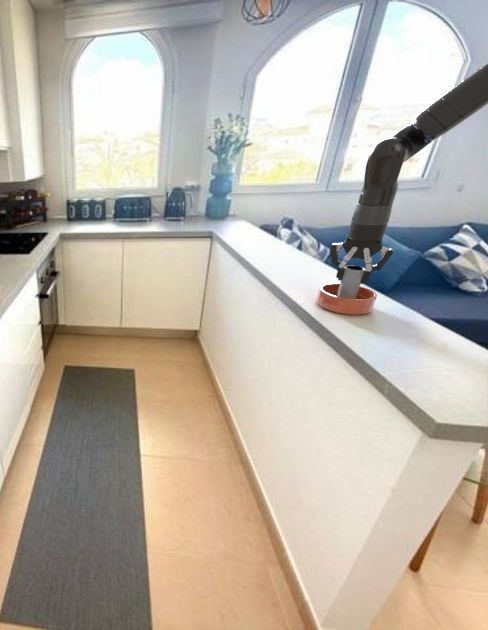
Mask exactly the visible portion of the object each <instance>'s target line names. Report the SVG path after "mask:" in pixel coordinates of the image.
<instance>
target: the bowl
mask: <svg viewBox="0 0 488 630" xmlns="http://www.w3.org/2000/svg"><path fill="white" fill-rule="evenodd" d="M339 286H340V282H330V283H329V282H328V283H324V284H322V285H320V287H319V288H318V289H319V290H318V293H317V296H316V301H315V302H316V304H317V305H319V306H320V307H321V308H324V310H327V311H329V312H333V313H337V314H341V315H347V316H348V315H349V316H351V315H352V316H357V315H358V316H359V315H366V314H369V313H371V312H372V311H373V308H374V305H375V303H376V300H377V297H378V294H377V293H376V292H375V291H374V290H372V289H370V288H368V287H365V286H361V285H360V287H359V290H358V294H357V297H356V299H348V298H342V297H338V296H337V293H338V289H339Z"/></svg>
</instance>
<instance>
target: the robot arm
mask: <svg viewBox="0 0 488 630" xmlns="http://www.w3.org/2000/svg"><path fill="white" fill-rule="evenodd" d="M487 105H488V63H486V64H484V65H483V66H482V67H481V68H479V69H478V70H476V71H475V72H473V73H472V74H471V75H470V76H468V77H466V78H465V79H464V80H462V81H461V82H459V83H458V84H457V85H455V86H454V87H453V88H451V89H450V90H449V91H447V92H446V93H445V94H443V95H442V96H441V97H439V98H438V99H437V100H435V101H434V102H433V103H431V104H430V105H429V106H427V107H426V108H425V109H423V110H422V111H421V112H419V114H417V115H416V117H414V119H413V120H412V121H410V123H408V124H407V125H406V126H404V127H403V128H402V129H400V130H399V131H398V132H397V133H395V134H393V135H392V136H391V137H389V138H385V139H383V140H381V141H379V142H378V143H376V144H375V145H374V146H373V148H372V149H371V150H370V152H369V154H368V157H367V160H366V164H365V170H364V171H365V173H364V178H363V186H362V188H361V191H360V195H359V197H358V202H357V205H356V207H355V209H354V212H353V214H352V217H351V221H350V225H349V229H348V232H347V235H346V238H345V240H344V241H342V242H338V243H337V242H333V243H332V244H331V245H330V258H331V265H333V266H336V267H337V268H338V269H337V272H336V276H335V278H336V279H337V281H341V279H342V276H343V272H344V269H345V267H346V266H347V263H348V262H349V261H350V260H351V259H360V260H364V264H365V272H364V275H363V278H362V281H361V284H362V285H365V283H368V282H369V280H370V277H371V273H372V272H373V271H381V270H382V269H383V267H384V266H385V264H386V263H387V262H388V261H389V259H390V258H391V257H392V255H393V254H394V251H395V249H394V248H393V247H386V246H384V245H383V238H384V236H385V233H386V230H387V227H388V224H389V221H390V218H391V214H392V210H393V205H394V202H395V200H396V199H395V198H396V196H397V192H398V189H399V181H398V180H399V176H400V173H401V170H402V167H403V165H404V163H406V162H407V161H408V160H410V159H411V158H412V157H414V156H415V155H417V154H418V153H419V152H420V151H422V150H423V149H424V148H427V146H429V145H430V144H431V143H432V142H433V141H435V140H436V139H438V138H440V137H442V136H443V135H445V134H447V133H448V132H450V131H451V130H452V129H454V128H456V127H457V126H458V125H460V124H462V123H463V122H464V121H466V120H467V119H469V118H470V117H471V116H473V115H475V114H476V113H477V112H478V111H480V110H481V109H483V108H485V106H487ZM341 248H343V249H344V251H345V253H346V254H345V256H343V258H342V260H339V252H340V251H341ZM378 252H381V253H380V255H381V258H380V259H379V261H378V262H377V263H376V264H373V256H374V255H376V254H378Z"/></svg>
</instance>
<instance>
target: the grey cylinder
mask: <svg viewBox="0 0 488 630" xmlns="http://www.w3.org/2000/svg"><path fill="white" fill-rule="evenodd" d="M365 269H366V267H363V266H359V265H352V264H351V265H345V269H344V272H343V276H342V279H341V280H340V282H339V283H340V286H339V289H338V293H337V296H338V297H342V298H348V299H356V297H357V294H358V290H359V287H360V286H361V284H362V283H361V281H362V278H363V275H364V272H365Z"/></svg>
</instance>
